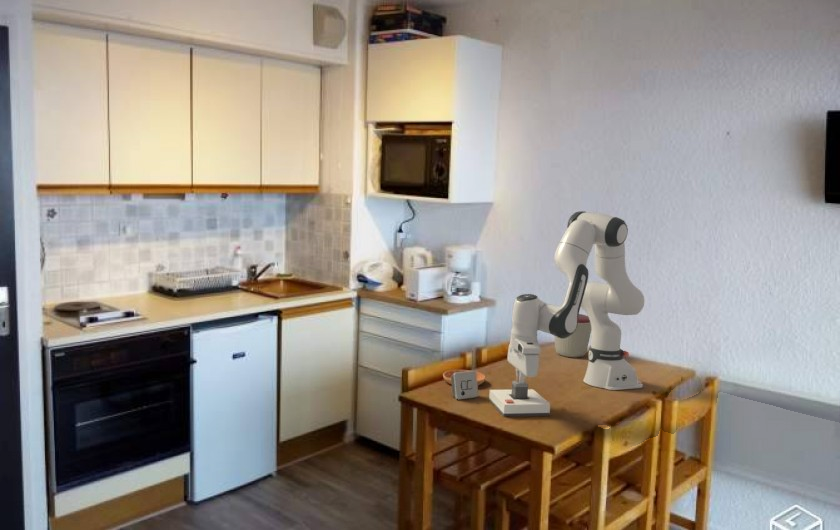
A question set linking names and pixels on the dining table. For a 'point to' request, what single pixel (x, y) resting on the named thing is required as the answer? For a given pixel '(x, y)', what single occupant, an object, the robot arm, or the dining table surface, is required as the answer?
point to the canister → (575, 339)
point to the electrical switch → (464, 385)
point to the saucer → (448, 373)
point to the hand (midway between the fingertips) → (520, 382)
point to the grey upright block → (519, 390)
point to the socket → (519, 404)
